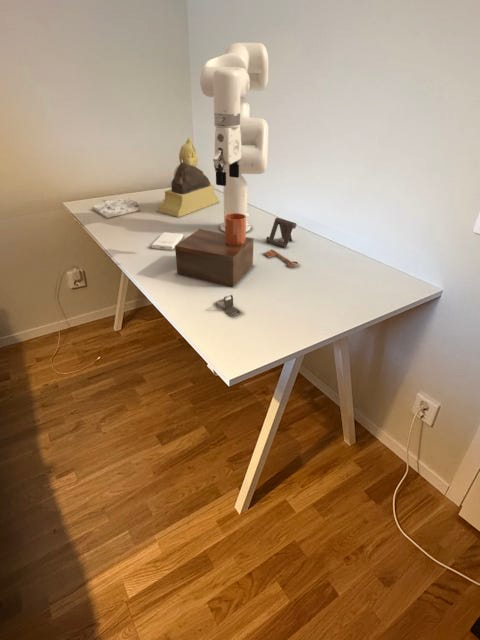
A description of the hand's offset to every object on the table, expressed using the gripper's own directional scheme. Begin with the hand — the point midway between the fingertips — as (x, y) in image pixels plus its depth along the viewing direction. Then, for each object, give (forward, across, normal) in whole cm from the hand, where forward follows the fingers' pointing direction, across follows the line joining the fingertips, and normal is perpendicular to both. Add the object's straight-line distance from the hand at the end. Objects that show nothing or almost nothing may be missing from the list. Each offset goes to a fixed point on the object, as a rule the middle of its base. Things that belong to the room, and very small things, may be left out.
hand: (227, 181), depth 120 cm
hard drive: (+27, +2, +26) cm, 38 cm away
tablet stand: (+27, +21, -13) cm, 37 cm away
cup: (+16, -7, -6) cm, 19 cm away
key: (+27, +6, -18) cm, 32 cm away
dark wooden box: (+26, -11, 0) cm, 28 cm away
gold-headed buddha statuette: (+28, +45, +41) cm, 67 cm away
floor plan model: (+28, +29, +72) cm, 83 cm away
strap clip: (+26, -31, -14) cm, 43 cm away
